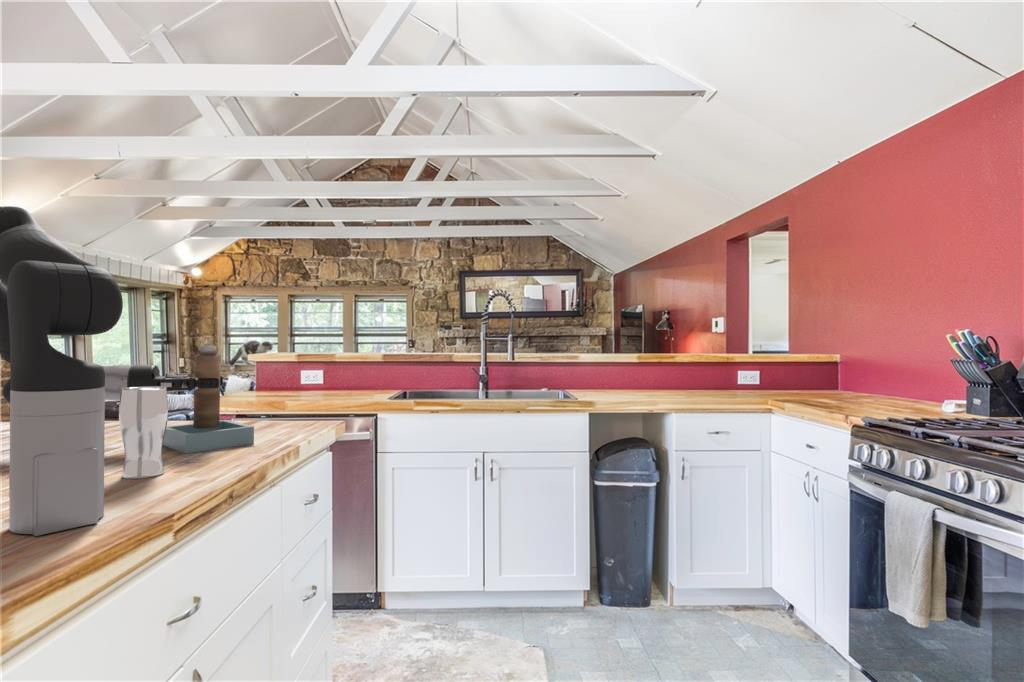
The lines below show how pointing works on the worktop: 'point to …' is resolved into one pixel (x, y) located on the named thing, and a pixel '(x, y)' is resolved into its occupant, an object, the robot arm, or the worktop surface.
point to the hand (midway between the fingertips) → (220, 381)
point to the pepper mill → (207, 389)
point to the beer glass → (143, 430)
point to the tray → (208, 437)
